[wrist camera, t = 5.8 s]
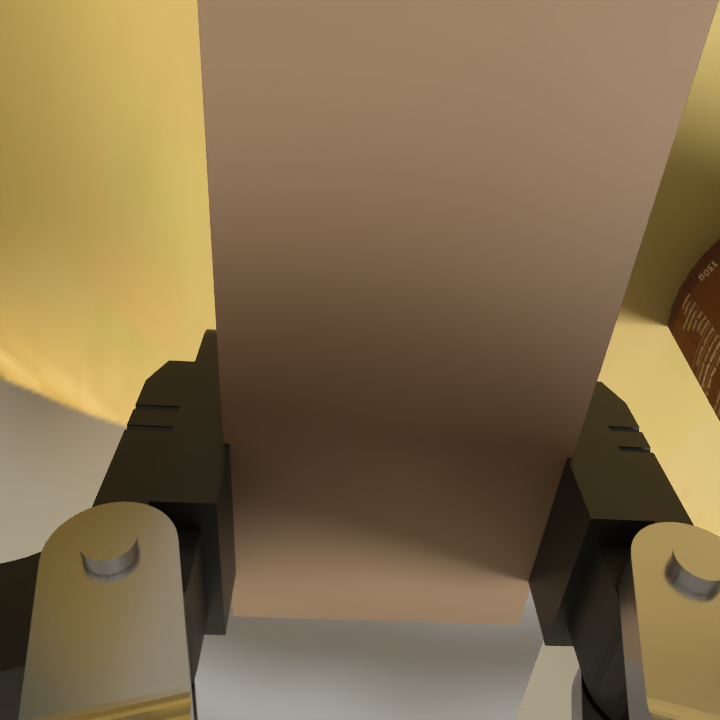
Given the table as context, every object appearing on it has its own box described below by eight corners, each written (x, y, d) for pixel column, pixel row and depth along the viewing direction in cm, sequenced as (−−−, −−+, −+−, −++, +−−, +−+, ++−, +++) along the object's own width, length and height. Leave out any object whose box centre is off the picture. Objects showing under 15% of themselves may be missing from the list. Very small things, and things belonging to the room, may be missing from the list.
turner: (88, -91, 8) (-89, -88, 5) (734, -40, 9) (977, -4, 5) (186, 673, 17) (147, 859, 14) (502, 681, 17) (538, 864, 14)
